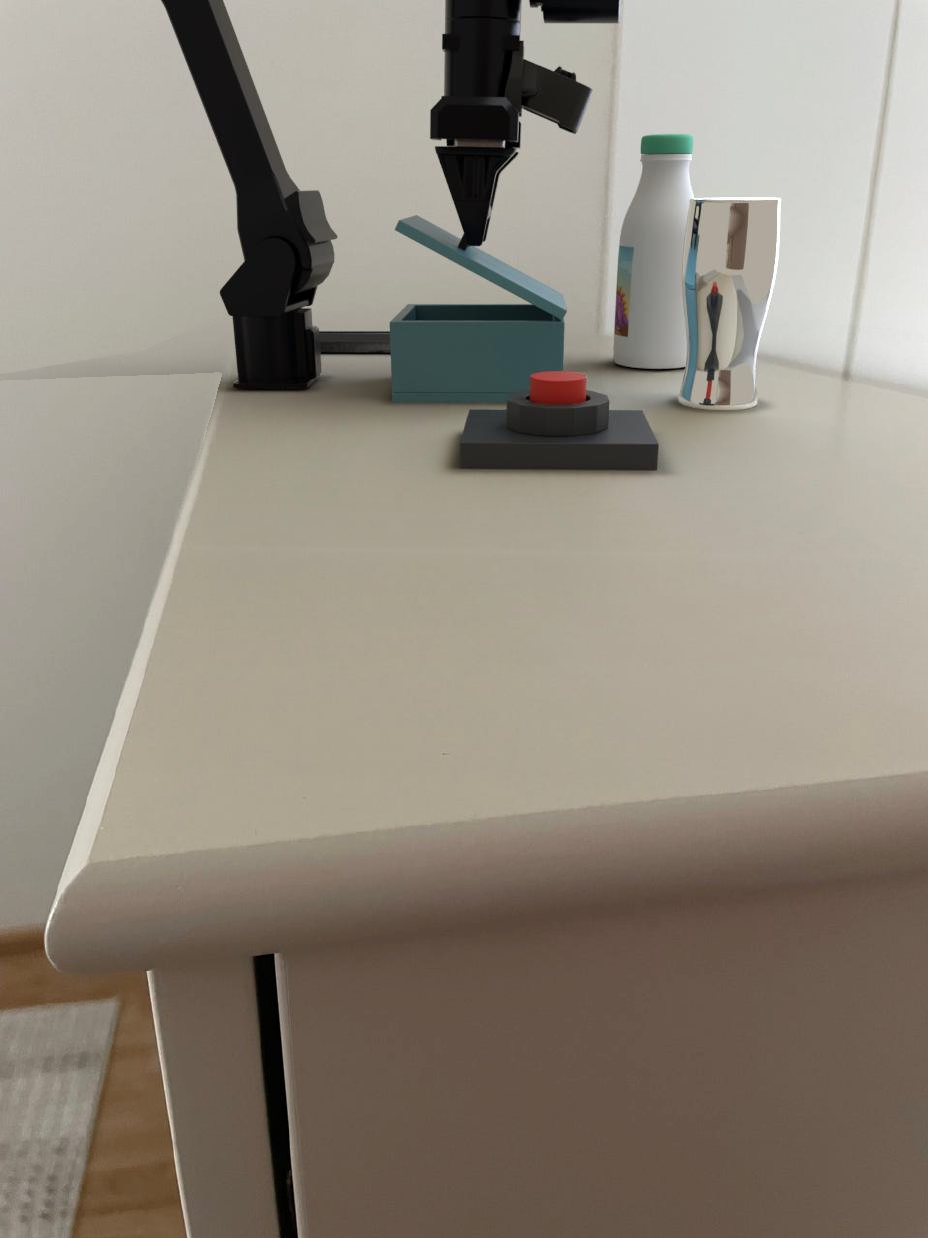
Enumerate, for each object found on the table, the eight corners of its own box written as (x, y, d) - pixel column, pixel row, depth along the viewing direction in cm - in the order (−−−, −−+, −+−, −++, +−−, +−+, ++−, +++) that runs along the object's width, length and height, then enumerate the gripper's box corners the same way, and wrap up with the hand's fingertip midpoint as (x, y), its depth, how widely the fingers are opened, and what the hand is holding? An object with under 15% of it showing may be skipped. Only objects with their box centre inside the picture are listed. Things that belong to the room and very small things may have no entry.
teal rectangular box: (392, 402, 83) (389, 321, 81) (409, 375, 95) (407, 303, 92) (562, 403, 82) (564, 321, 80) (558, 375, 94) (560, 303, 91)
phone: (296, 331, 114) (432, 330, 113) (297, 341, 114) (432, 341, 114) (280, 341, 107) (425, 341, 106) (281, 352, 107) (426, 352, 106)
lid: (394, 229, 78) (420, 170, 76) (412, 223, 90) (435, 171, 88) (562, 320, 80) (592, 264, 78) (558, 302, 91) (584, 253, 90)
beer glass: (765, 413, 78) (788, 198, 72) (671, 410, 79) (686, 199, 73) (760, 396, 84) (780, 197, 78) (673, 393, 86) (686, 197, 80)
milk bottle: (706, 361, 100) (724, 134, 93) (676, 373, 94) (693, 131, 87) (632, 355, 104) (644, 136, 97) (599, 366, 98) (609, 134, 91)
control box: (460, 469, 64) (459, 412, 62) (469, 433, 73) (468, 383, 71) (657, 471, 63) (660, 414, 62) (641, 434, 72) (644, 383, 71)
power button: (529, 408, 65) (530, 380, 64) (529, 397, 68) (530, 370, 68) (587, 409, 65) (588, 380, 64) (584, 397, 68) (585, 370, 67)
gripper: (597, 5, 69) (581, 253, 75) (584, 40, 86) (572, 240, 92) (430, 2, 69) (428, 249, 75) (451, 38, 87) (448, 237, 93)
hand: (477, 243), depth 84 cm, fingers closed on lid, 6 cm apart
